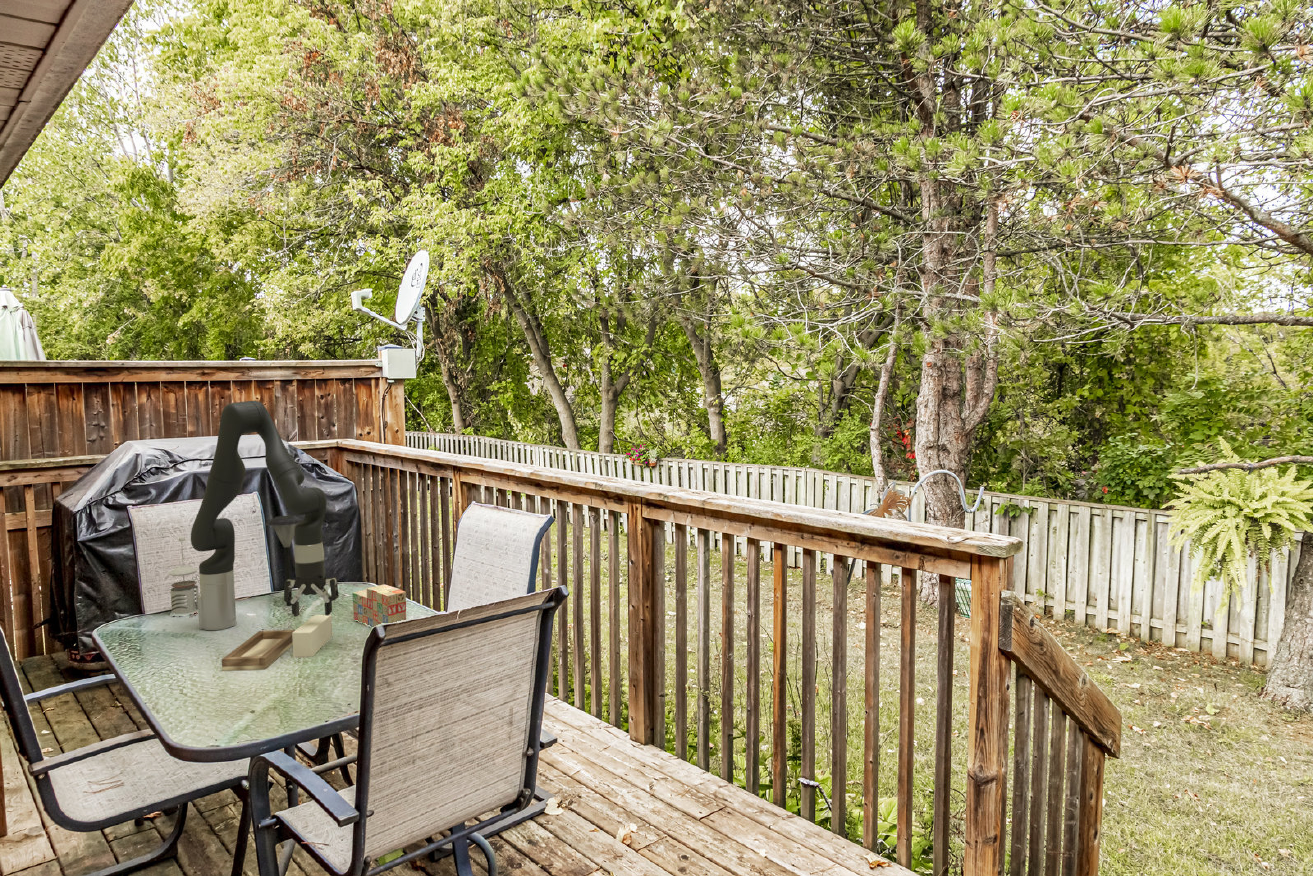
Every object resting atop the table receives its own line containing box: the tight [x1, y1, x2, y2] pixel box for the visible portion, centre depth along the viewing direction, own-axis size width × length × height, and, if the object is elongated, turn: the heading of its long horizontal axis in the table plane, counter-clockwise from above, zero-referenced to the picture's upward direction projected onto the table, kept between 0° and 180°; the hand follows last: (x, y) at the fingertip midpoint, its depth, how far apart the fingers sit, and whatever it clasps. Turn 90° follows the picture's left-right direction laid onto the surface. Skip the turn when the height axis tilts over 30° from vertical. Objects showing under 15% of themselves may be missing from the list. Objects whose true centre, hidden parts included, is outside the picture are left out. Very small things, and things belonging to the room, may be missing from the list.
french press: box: [168, 536, 201, 614], centre depth 256 cm, size 10×12×25 cm
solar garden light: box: [265, 514, 304, 607], centre depth 264 cm, size 12×12×30 cm
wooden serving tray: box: [221, 629, 296, 671], centre depth 218 cm, size 11×23×3 cm, turn 4°
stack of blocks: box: [352, 584, 407, 627], centre depth 242 cm, size 21×6×12 cm, turn 48°
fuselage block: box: [292, 614, 333, 658], centre depth 223 cm, size 5×16×7 cm, turn 3°
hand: (312, 615), depth 223 cm, fingers open, 8 cm apart
